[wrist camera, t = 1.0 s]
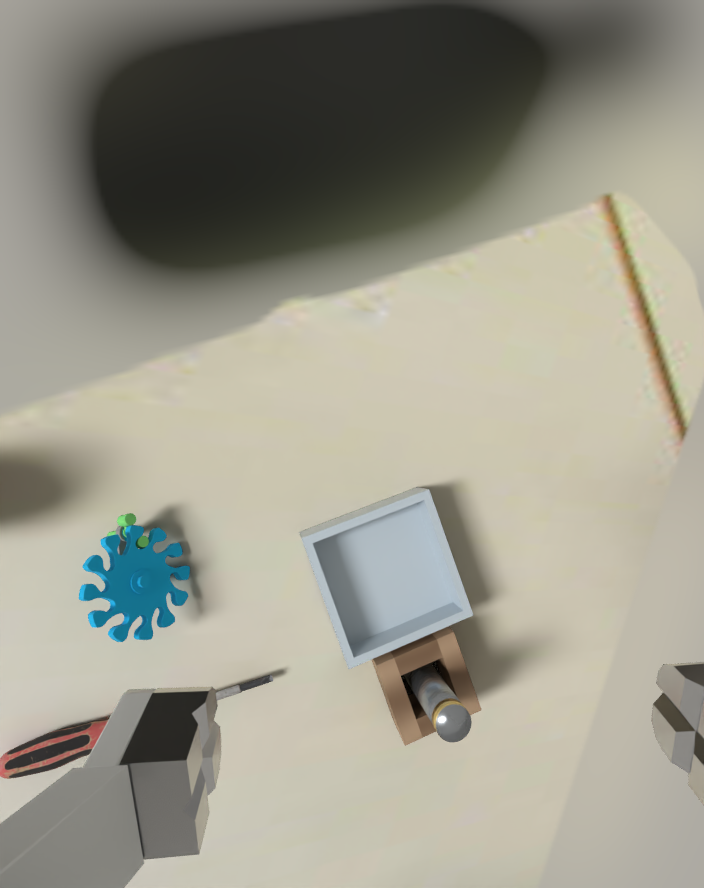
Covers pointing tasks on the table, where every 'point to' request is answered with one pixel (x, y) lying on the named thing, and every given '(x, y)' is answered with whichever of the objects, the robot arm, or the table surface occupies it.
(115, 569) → the gear
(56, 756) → the screwdriver
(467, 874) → the table surface
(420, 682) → the pin
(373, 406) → the table surface
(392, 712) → the block
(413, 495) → the tray
